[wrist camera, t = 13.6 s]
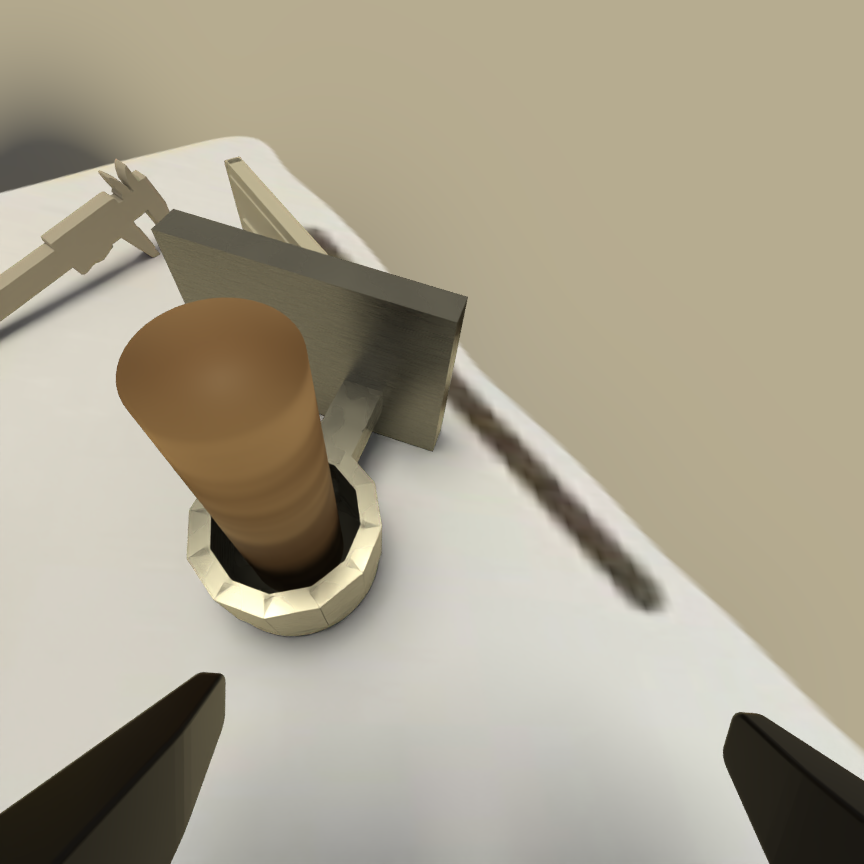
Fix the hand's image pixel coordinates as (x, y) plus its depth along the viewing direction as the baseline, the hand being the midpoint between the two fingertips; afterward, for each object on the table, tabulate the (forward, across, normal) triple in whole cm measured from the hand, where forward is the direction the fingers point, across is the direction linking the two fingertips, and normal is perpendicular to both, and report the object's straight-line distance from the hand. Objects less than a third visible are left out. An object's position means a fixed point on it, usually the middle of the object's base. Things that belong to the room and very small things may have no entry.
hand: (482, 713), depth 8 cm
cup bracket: (+16, +8, +3) cm, 18 cm away
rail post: (+13, +6, +4) cm, 15 cm away
